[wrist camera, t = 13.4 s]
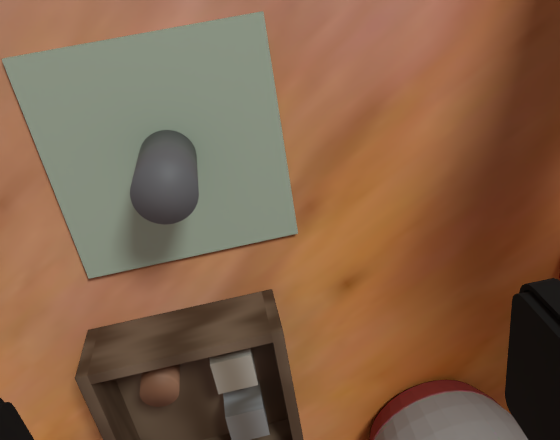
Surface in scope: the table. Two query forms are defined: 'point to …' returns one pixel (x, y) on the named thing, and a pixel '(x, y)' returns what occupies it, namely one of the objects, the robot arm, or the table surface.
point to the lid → (161, 141)
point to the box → (193, 374)
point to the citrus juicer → (444, 415)
